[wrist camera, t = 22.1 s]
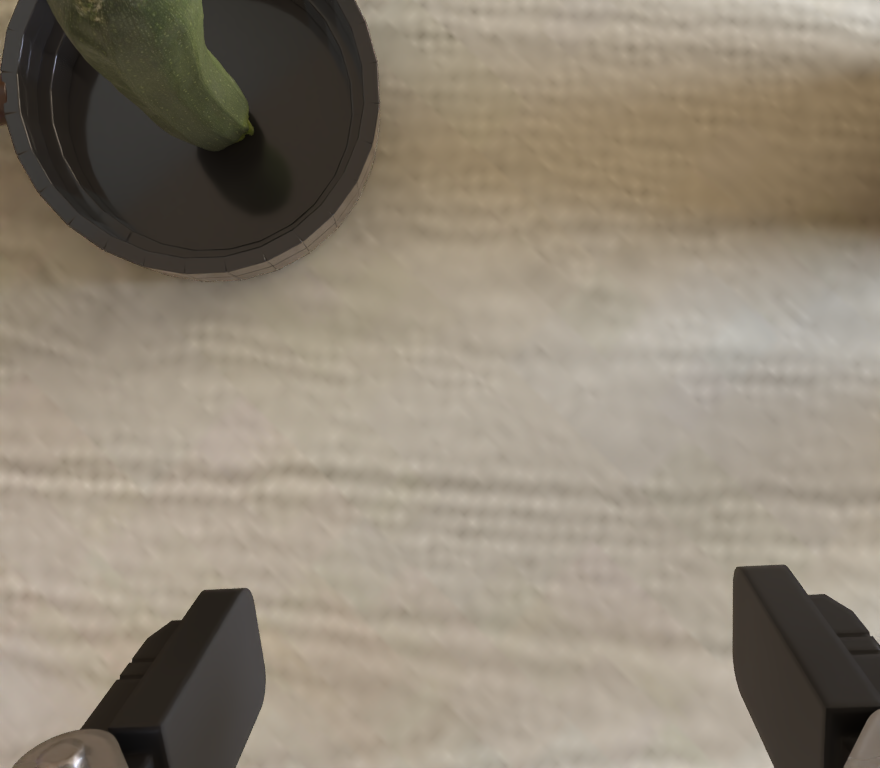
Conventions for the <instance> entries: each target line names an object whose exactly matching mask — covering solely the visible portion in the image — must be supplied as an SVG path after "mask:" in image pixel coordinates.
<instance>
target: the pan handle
mask: <svg viewBox="0 0 880 768" xmlns="http://www.w3.org/2000/svg"><path fill="white" fill-rule="evenodd" d="M6 102H7V93H6V84H5V82H2V81H1V74H0V125H7V123H6V119H5V114H4V108H3V104H4V103H6Z"/></svg>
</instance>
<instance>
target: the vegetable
mask: <svg viewBox="0 0 880 768" xmlns="http://www.w3.org/2000/svg"><path fill="white" fill-rule="evenodd" d="M47 2H48V4H49V6H50V8H51V11H52V13H53V15H54V16H55V18H56V19H57V21H58V23H59V24H60V26H61V27H62V29H63V30H64V32H65V34H66V35H67V37H68V38H69V40H70V41H71V42H72V44H73V45H74V46H75V48H76V49H77V50H78V51H79V52H80V54H81V55H82V56H83V57H84V59H85V60H86V61H87V62H88V63H89V64H90V65H91V66H92V67H93V68H94V69H95V70H96V71H98V72H99V73H100V74H101V75H102V76H103V77H104V78H106V79H107V80H108V81H110V82H111V83H112V85H113V86H114V87H115V88H116V89H117V91H119V92H120V93H121V94H123V95H124V96H125V97H126V98H128V99H129V100H130V101H131V102H133V103H134V104H135V105H136V106H137V107H138V108H140V109H141V110H142V111H143V112H144V113H145V114H146V115H147V116H148V117H149V118H150V119H151V120H152V121H153V122H154V123H155V124H156V125H157V126H159V127H160V128H161V129H162V130H164V131H165V132H167V133H168V134H170V135H171V136H173V137H175V138H178V139H180V140H182V141H185V142H187V143H190V144H192V145H195V146H198V147H200V148H203V149H205V150H208V151H220V150H223V149H225V148H226V147H228V146H230V145H232V144H234V143H236V142H239V141H242V140H243V139H244V138H245V135H246V134H249V135H251V136H252V135H253V134H254V128H253V126H252V124H251V123H250V121H249V120H248V119H249V115H248V113H249V106H248V102H247V100H246V98H245V96H244V95H243V93H242V91H241V89H240V88H239V86H238V85H237V83H236V82H235V80H234V79H233V78H232V77H231V76H230V75H229V74H228V73H227V72H226V71H225V69H224V68H223V66H222V65H221V64H220V62H219V61H218V60H217V59H216V58H215V57H214V56H213V55H212V53H211V52H210V51H209V50H208V49H207V47H206V45H205V40H204V30H203V18H204V14H203V8H202V0H47Z"/></svg>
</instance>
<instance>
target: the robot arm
mask: <svg viewBox="0 0 880 768" xmlns="http://www.w3.org/2000/svg"><path fill="white" fill-rule="evenodd" d="M733 664H734V671H735V676H736V681H737V685H738V688H739V691H740V694H741V696H742V698H743V700H744V703H745V705H746V707H747V709H748V711H749V713H750V716H751V718H752V720H753V722H754V724H755V726H756V729H757V731H758V733H759V735H760V737H761V739H762V742H763V744H764V746H765V748H766V750H767V752H768V755H769V757H770V759H771V761H772V763H773V765H774V768H880V645H879V644H878V642H877V641H876V640H875V639H874V637H873V636H870V634H869V631H868V630H867V629H866V627H865V626H864V625H863V624H862V622H861V621H860V620H859V619H858V617H857V616H856V615H855V614H854V612H853V611H851V610H850V609H848V608H846V607H845V606H843V605H842V604H840V603H838V602H837V601H835V600H833V599H832V598H830V597H829V596H827V595H825V594H819V595H808V594H807V593H806V592H805V590H804V589H803V587H802V586H801V585H800V583H799V582H798V580H797V579H796V578H795V576H794V575H793V574H792V572H791V571H790V569H789V568H788V567H787V566H786V565H764V566H742V567H736V569H735V571H734V577H733ZM265 683H266V675H265V665H264V659H263V653H262V647H261V641H260V635H259V629H258V623H257V617H256V611H255V605H254V600H253V596H252V594H251V592H250V590H249V589H247V588H237V589H215V590H204V591H202V592H201V593H200V595H199V596H198V597H197V599H196V600H195V602H194V603H193V605H192V606H191V608H190V609H189V610H188V612H187V613H186V615H185V616H184V618H183V619H182V620H176V621H171V622H169V623H168V624H167V625H165V626H164V627H162V628H161V629H160V630H158V631H157V632H156V633H154V634H153V635H151V636H150V637H149V638H147V640H146V641H145V642H144V644H143V645H142V646H141V648H140V649H139V650H138V652H137V653H136V654H135V656H134V657H133V658H132V663H129V664H128V665H127V667H126V668H125V669H124V671H123V672H122V673H121V675H120V680H116V682H115V683H114V684H113V686H112V687H111V688H110V690H109V691H108V692H107V694H106V695H105V696H104V698H103V699H102V701H101V702H100V703H99V705H98V706H97V707H96V709H95V710H94V711H93V713H92V714H91V715H90V717H89V718H88V720H87V721H86V722H85V724H84V725H83V726H82V728H81V729H80V730H75V731H71V732H67V733H64V734H61V735H58V736H55V737H53V738H51V739H49V740H47V741H45V742H43V743H41V744H39V745H37V746H36V747H34V748H33V749H31V750H30V751H28V752H27V753H26V754H25V755H24V756H22V757H21V758H20V759H19V760H18V761H17V762H16V763H15V764H14V766H13V767H12V768H236V765H237V763H238V761H239V758H240V756H241V754H242V751H243V749H244V747H245V744H246V742H247V740H248V738H249V735H250V733H251V731H252V728H253V726H254V724H255V721H256V719H257V717H258V714H259V712H260V710H261V707H262V704H263V700H264V694H265Z"/></svg>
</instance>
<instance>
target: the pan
mask: <svg viewBox="0 0 880 768" xmlns="http://www.w3.org/2000/svg"><path fill="white" fill-rule="evenodd" d="M202 8H203V14H204V18H203V30H204V40H205V45H206V47H207V49H208V50H209V51H210V52H211V53H212V55H213V56H214V57H215V58H216V59H217V60H218V61H219V62H220V64H221V65H222V66H223V68H224V69H225V71H226V72H227V73H228V74H229V75H230V76H231V77H232V78H233V79H234V80H235V82H236V83H237V85H238V86H239V88H240V89H241V91H242V93H243V95H244V96H245V98H246V100H247V102H248V106H249V113H248V115H249V119H248V120H249V121H250V123H251V124H252V126H253V128H254V134H253V135H252V136H251V135H249V134H246V135H245V138H244V139H243V140H242V141H239V142H236V143H234V144H232V145H230V146H228V147H226V148H225V149H223V150H220V151H208V150H205V149H203V148H200V147H198V146H195V145H192V144H190V143H187V142H185V141H182V140H180V139H178V138H175V137H173V136H171V135H170V134H168V133H167V132H165V131H164V130H162V129H161V128H160V127H159V126H157V125H156V124H155V123H154V122H153V121H152V120H151V119H150V118H149V117H148V116H147V115H146V114H145V113H144V112H143V111H142V110H141V109H140V108H138V107H137V106H136V105H135V104H134V103H133V102H131V101H130V100H129V99H128V98H126V97H125V96H124V95H123V94H121V93H120V92H119V91H117V89H116V88H115V87H114V86H113V85H112V83H111V82H110V81H108V80H107V79H106V78H104V77H103V76H102V75H101V74H100V73H99V72H98V71H96V70H95V69H94V68H93V67H92V66H91V65H90V64H89V63H88V62H87V61H86V60H85V59H84V57H83V56H82V55H81V54H80V52H79V51H78V50H77V49H76V48H75V46H74V45H73V44H72V42H71V41H70V40H69V38H68V37H67V35H66V34H65V32H64V30H63V29H62V27H61V26H60V24H59V23H58V21H57V19H56V18H55V16H54V15H53V13H52V11H51V8H50V6H49V4H48V2H47V0H19V1H18V3H17V6H16V8H15V10H14V13H13V15H12V18H11V20H10V23H9V25H8V27H7V31H6V38H5V44H4V51H3V57H2V63H1V81H2V82H5V84H6V93H7V102H6V103H4V104H3V108H4V114H5V119H6V123H7V126H8V129H9V132H10V135H11V139H12V142H13V145H14V148H15V152H16V154H17V155H18V156H17V157H18V159H19V161H20V162H21V164H22V166H23V168H24V169H25V171H26V173H27V175H28V176H29V178H30V180H31V181H32V183H33V185H34V187H35V188H36V190H37V192H38V193H39V194H40V196H41V197H42V198H43V199H44V200H45V201H46V202H47V203H48V204H49V206H50V207H51V208H52V209H53V210H54V211H55V212H56V213H57V214H58V215H59V216H60V218H61V219H62V220H63V221H64V222H65V223H66V224H67V225H69V227H71V228H72V229H73V230H75V231H76V232H78V233H79V234H81V235H82V236H83V237H85V238H86V239H88V240H89V241H91V242H92V243H93V244H95V245H96V246H98V247H99V248H101V249H102V250H104V251H106V252H108V253H111V254H113V255H115V256H118V257H120V258H123V259H125V260H127V261H130V262H132V263H135V264H137V265H139V266H142V267H145V268H148V269H150V270H153V271H156V272H159V273H162V274H165V275H168V276H173V277H179V278H185V279H190V280H196V281H201V282H203V281H205V282H214V281H237V280H241V279H242V280H244V279H248V278H252V277H255V276H259V275H263V274H266V273H270V272H274V271H276V270H279V269H281V268H283V267H285V266H287V265H289V264H291V263H293V262H294V261H296V260H298V259H300V258H302V257H304V256H306V255H307V254H309V253H310V252H312V251H313V250H314V249H315V248H316V247H318V246H319V245H320V244H321V243H322V242H323V241H324V240H325V239H327V238H328V237H329V236H330V235H331V234H332V233H333V232H335V231H336V230H337V228H339V226H340V225H341V224H342V222H343V221H344V219H345V218H346V217H347V215H348V214H349V213H350V211H351V210H352V208H353V207H354V206H355V204H356V203H357V201H358V200H359V197H360V196H361V193H362V191H363V189H364V186H365V184H366V181H367V179H368V177H369V174H370V172H371V169H372V167H373V163H374V158H375V153H376V147H377V141H378V135H379V126H380V94H379V75H378V63H377V58H376V54H375V51H374V47H373V43H372V40H371V36H370V33H369V29H368V26H367V23H366V20H365V18H364V16H363V15H362V13H361V11H360V9H359V7H358V5H357V3H356V1H355V0H202Z"/></svg>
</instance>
